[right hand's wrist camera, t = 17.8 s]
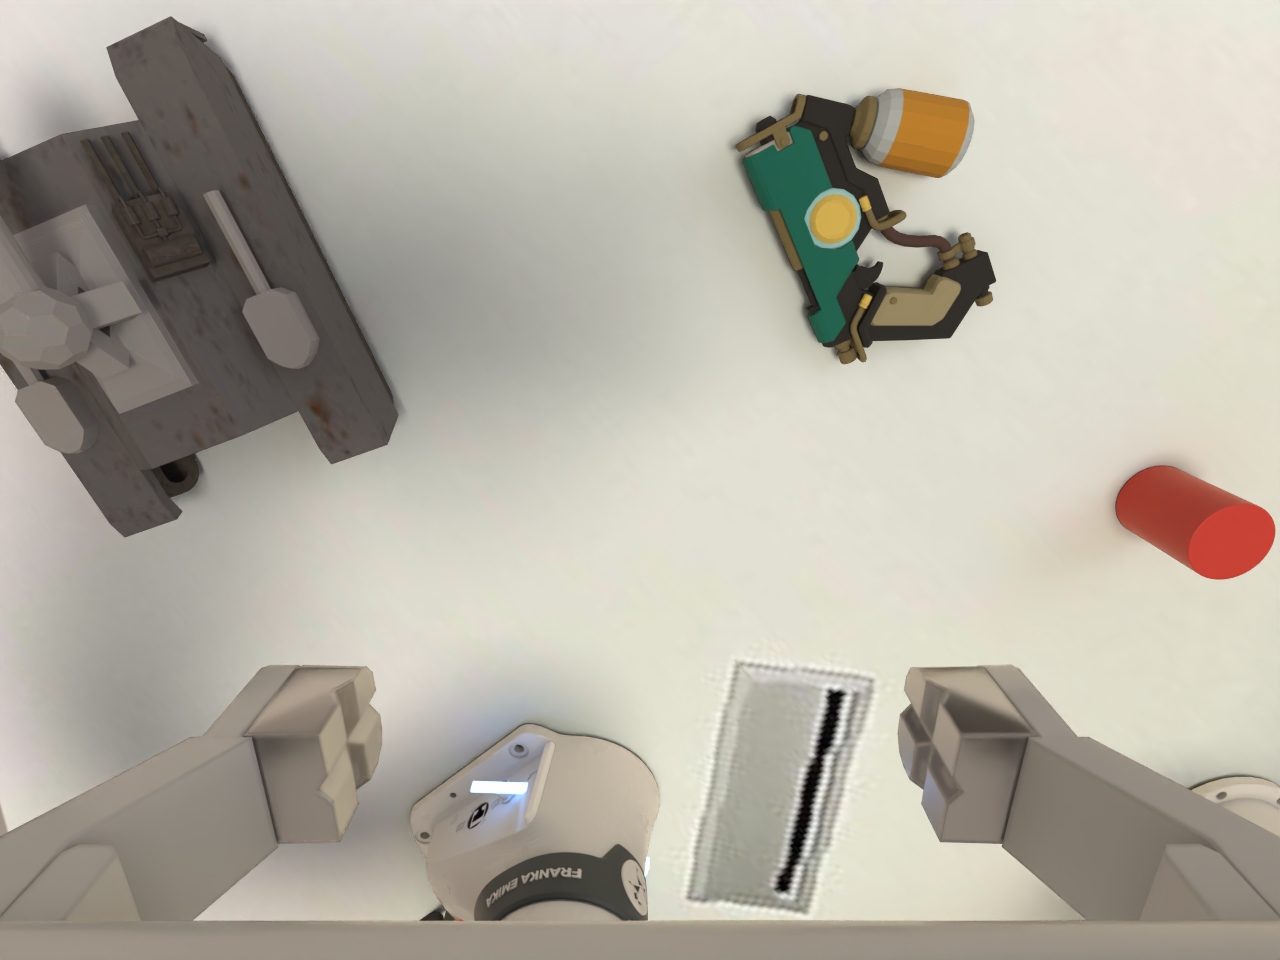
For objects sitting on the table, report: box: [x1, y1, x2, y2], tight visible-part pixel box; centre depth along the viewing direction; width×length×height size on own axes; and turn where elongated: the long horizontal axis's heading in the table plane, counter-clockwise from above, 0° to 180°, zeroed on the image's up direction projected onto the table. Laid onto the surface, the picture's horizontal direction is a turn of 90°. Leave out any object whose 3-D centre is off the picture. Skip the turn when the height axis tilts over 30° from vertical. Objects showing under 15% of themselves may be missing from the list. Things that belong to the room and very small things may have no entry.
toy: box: [0, 16, 398, 537], centre depth 40 cm, size 25×20×15 cm
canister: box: [1116, 466, 1275, 579], centre depth 49 cm, size 6×6×7 cm
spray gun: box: [736, 88, 996, 364], centre depth 44 cm, size 4×17×15 cm
